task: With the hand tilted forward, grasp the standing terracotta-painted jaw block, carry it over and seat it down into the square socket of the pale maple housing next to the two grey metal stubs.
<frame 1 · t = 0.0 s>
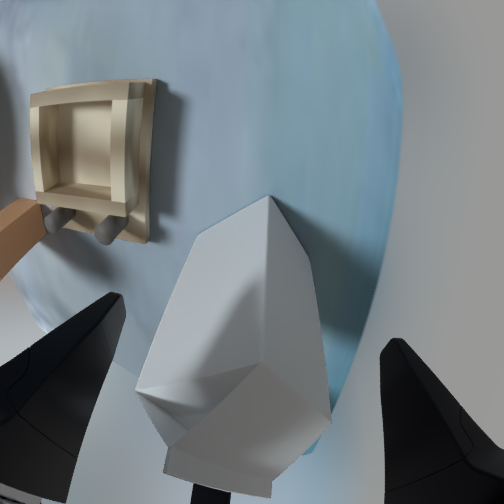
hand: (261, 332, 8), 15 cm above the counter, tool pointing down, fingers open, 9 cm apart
housing: (95, 159, 20), on the counter
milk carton: (254, 244, 24), on the counter
jaw block: (31, 215, 24), on the counter
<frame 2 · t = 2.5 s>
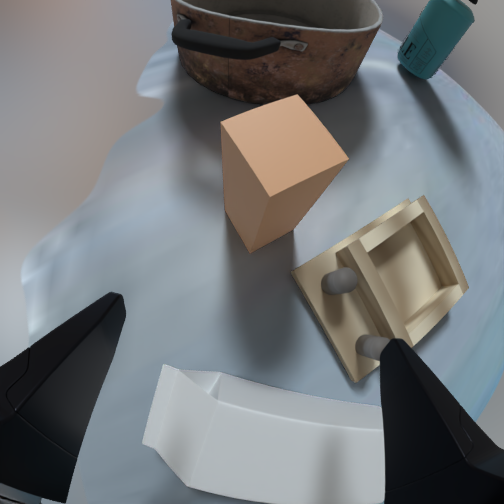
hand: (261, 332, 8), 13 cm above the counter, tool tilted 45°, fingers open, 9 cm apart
cooking pot: (268, 50, 28), on the counter
housing: (384, 285, 23), on the counter
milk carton: (385, 452, 16), point 4 cm above the counter
jaw block: (259, 219, 23), on the counter
beverage bottle: (409, 71, 30), on the counter
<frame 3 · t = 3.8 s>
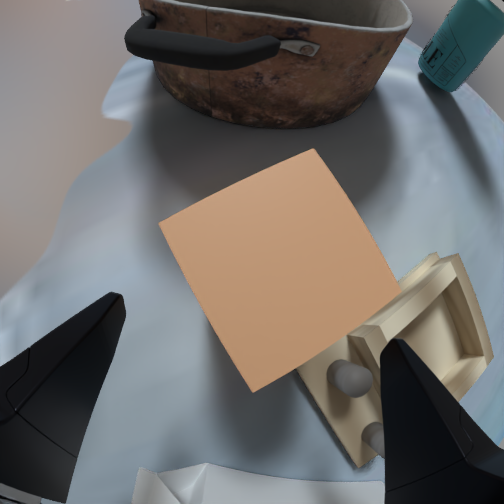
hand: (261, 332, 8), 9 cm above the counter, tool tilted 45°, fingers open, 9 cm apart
cooking pot: (265, 53, 23), on the counter
housing: (401, 361, 17), on the counter
jaw block: (250, 292, 18), on the counter
beverage bottle: (430, 82, 25), on the counter
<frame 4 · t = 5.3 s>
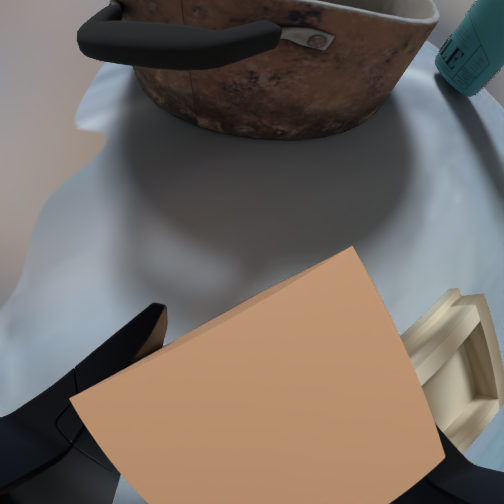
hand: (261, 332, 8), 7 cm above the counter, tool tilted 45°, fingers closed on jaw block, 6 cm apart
cooking pot: (263, 49, 19), on the counter
housing: (411, 409, 14), on the counter
jaw block: (244, 345, 14), on the counter, touching gripper
beverage bottle: (447, 84, 21), on the counter
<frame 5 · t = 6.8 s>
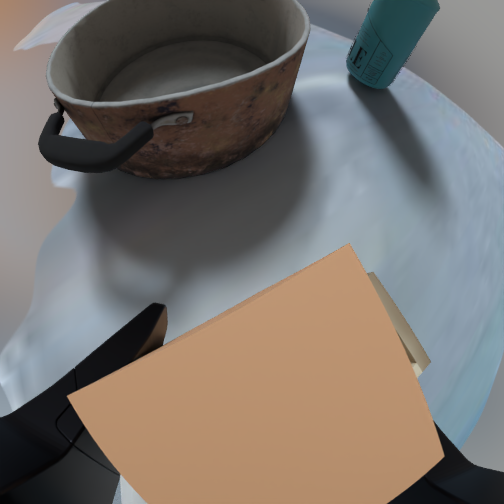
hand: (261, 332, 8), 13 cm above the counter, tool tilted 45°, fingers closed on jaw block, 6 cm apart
cooking pot: (184, 93, 26), on the counter
housing: (329, 371, 21), on the counter
jaw block: (243, 345, 14), point 7 cm above the counter, touching gripper
beverage bottle: (363, 80, 28), on the counter
when the fingers open (9 cm above the counter, at t = 8.6 s): jaw block drops 1 cm, resting on housing.
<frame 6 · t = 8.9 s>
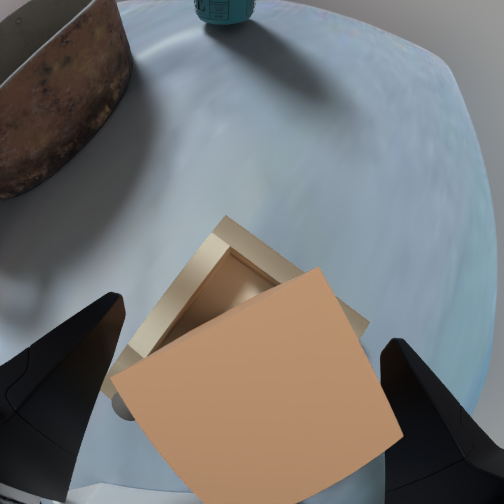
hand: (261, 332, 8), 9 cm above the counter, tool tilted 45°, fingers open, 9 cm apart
cooking pot: (43, 106, 20), on the counter
housing: (225, 362, 16), on the counter
jaw block: (242, 342, 16), point 1 cm above the counter, touching housing
beverage bottle: (223, 24, 23), on the counter
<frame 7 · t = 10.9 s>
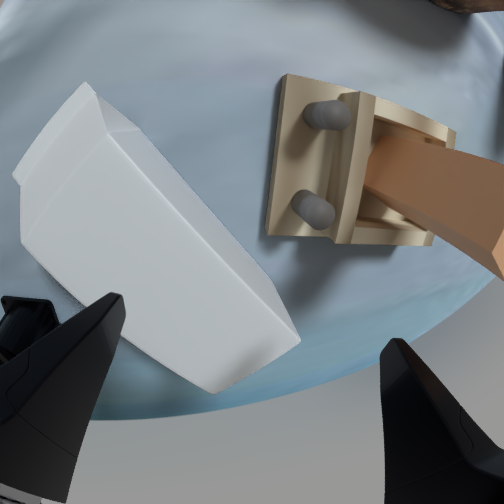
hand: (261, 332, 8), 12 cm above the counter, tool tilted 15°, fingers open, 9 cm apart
housing: (361, 166, 19), on the counter
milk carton: (248, 337, 19), point 4 cm above the counter
jaw block: (386, 172, 19), point 1 cm above the counter, touching housing
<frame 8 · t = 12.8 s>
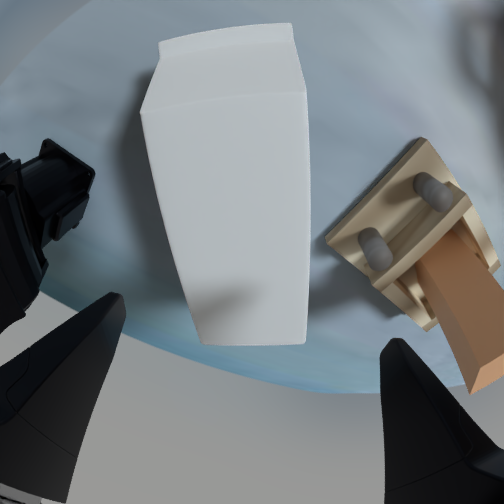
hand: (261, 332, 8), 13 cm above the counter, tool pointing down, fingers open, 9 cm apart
housing: (421, 239, 20), on the counter
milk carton: (255, 312, 21), point 4 cm above the counter
jaw block: (435, 257, 20), point 1 cm above the counter, touching housing
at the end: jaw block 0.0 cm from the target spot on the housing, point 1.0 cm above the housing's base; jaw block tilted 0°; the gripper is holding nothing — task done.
